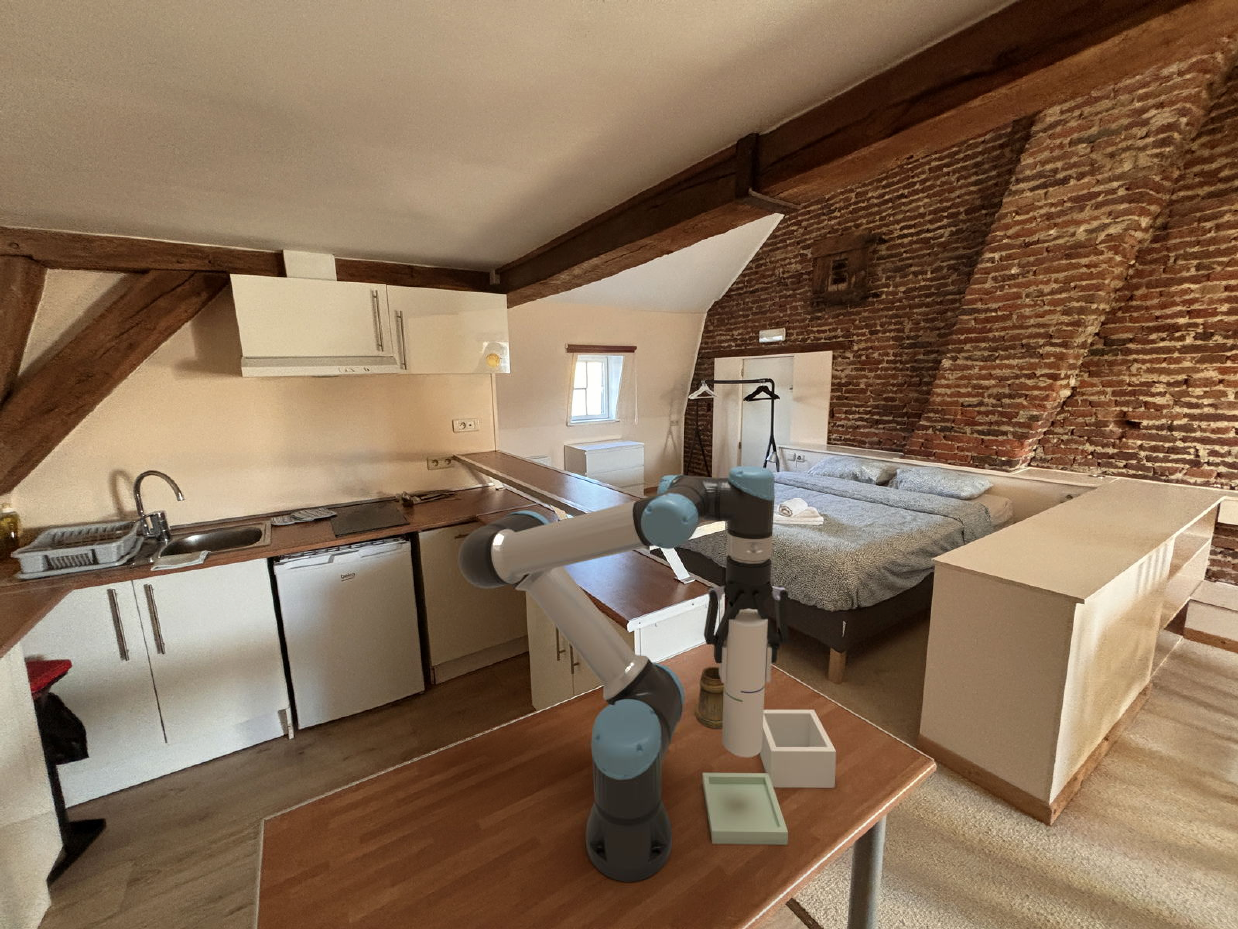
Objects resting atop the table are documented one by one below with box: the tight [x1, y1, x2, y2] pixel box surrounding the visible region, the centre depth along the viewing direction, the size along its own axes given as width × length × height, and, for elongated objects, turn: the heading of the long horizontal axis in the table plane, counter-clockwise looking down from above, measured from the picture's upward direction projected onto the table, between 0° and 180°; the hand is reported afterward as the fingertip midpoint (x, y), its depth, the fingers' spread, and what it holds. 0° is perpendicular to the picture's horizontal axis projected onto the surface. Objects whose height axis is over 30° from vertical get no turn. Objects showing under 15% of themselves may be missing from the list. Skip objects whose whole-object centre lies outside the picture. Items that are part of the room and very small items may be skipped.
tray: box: [702, 772, 789, 846], centre depth 92 cm, size 13×13×2 cm
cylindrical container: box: [721, 609, 768, 758], centre depth 88 cm, size 7×7×25 cm
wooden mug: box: [695, 666, 724, 730], centre depth 118 cm, size 9×14×18 cm, turn 114°
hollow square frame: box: [759, 709, 837, 789], centre depth 102 cm, size 12×12×8 cm
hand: (744, 677), depth 88 cm, fingers closed on cylindrical container, 7 cm apart
